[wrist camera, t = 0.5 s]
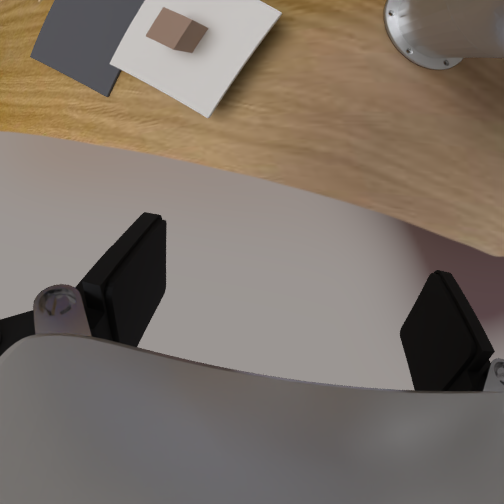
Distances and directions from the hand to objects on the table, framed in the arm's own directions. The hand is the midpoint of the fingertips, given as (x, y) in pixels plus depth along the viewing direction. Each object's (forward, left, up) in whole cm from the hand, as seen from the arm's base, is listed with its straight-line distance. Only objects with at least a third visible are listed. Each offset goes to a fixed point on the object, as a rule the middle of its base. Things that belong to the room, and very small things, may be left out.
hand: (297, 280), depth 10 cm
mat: (+1, -35, -33) cm, 48 cm away
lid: (-3, -17, -28) cm, 33 cm away
